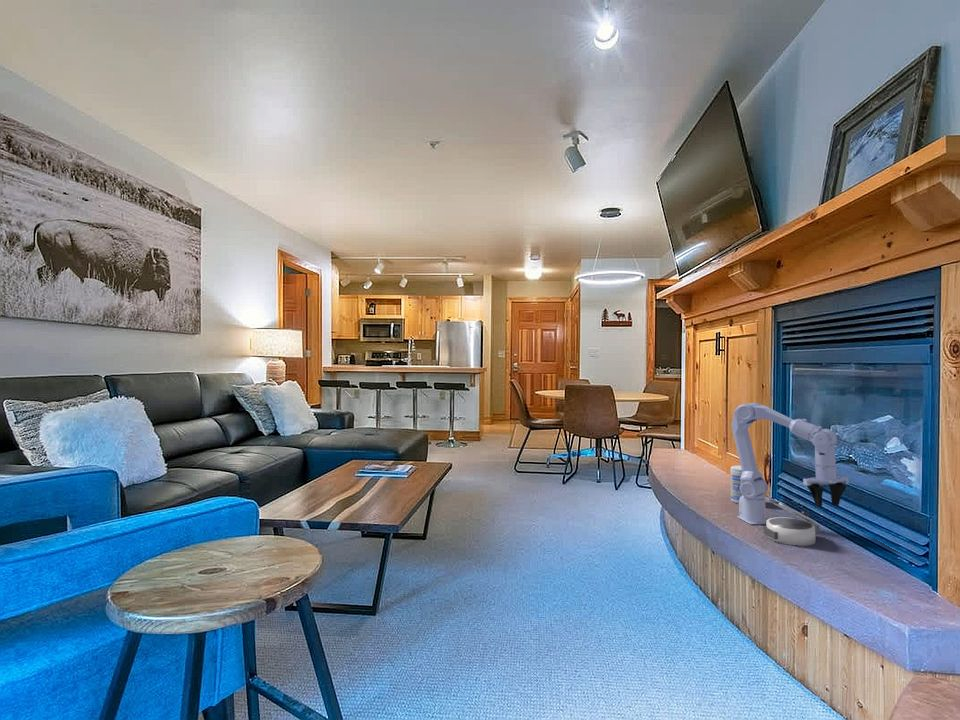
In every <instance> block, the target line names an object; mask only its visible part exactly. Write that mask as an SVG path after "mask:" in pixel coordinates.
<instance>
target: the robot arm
mask: <svg viewBox="0 0 960 720" xmlns="http://www.w3.org/2000/svg"><path fill="white" fill-rule="evenodd" d="M757 420H768V421H771V422H773V423H776V424H778V425H781V426H783V427H786V428H787V429H789V431H790V433H791V434H793V435H795V436H798V437H800V438H802V439H804V440H806V441H808V442H811V443H812V445H813V446H814V469H815V471H814V472H815V477H813V476H812V477H808V478H803V479H802V483H803V485H804V486H806V487H807V489H808V490H809V492H810V494H811V496H812V498H813V501H814V504H815V506H816V507H819V508H822V507H823V494H824V493H823V492H824V490H825V488H824V487H822V485H828V486H829V490H830V498H831V499H830V501H831V505H833V506H834V507H839V505H840V502H841V498H842V496H843V493H844V492H845V490H846V489H847V486H846V485H849V484H850V479H849V477H846V476H837V470H836V469H837V468H836V464H837V463H836V450H835V447H836V446H835V444H836V442H837V440H838V436H837V434H836V432H835V431H833V430H831V429H830V428H823V426H821V425H815V424H814V423H811V422H809V421H808V419H806V418H797V419H792V418H791V417H789V416H787V415H785V414H782V413H781V412H778V411H776V410H775V409H773V408H770V407H768V406H767V405H764V404H760V403H759V402H750V403H744V404H739V405H738V406H737V407H736V408H735V410H733V419H732V422H731V431H732V435H733V439H734V442H735V447H736V450H737V456H738V460H739V464H740V465H739V466H741V469H742V475H741V478H740V481H741V485H740V491H741V493H742V496H741V497H740V499H739V504H738V514H739V515H737V516H736V517H737V518H738V519H740V520H742V521H743V522H745V523H747V524H748V525H767V524H766V520H767V513H766V511H767V510H766V509H767V508H766V493H767V492H768V489H769V488H768V483H767V482H766V480H765V479H764V477H763V474H762V472H760V471H759V468H758V465H757V461H756V457H755V453H754V449H753V444H752V439H751V436H750V433H749V428H750V427H751V426H752V425H753V424H754V423H755V422H756V421H757Z"/></svg>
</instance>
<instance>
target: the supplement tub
mask: <svg viewBox="0 0 960 720" xmlns="http://www.w3.org/2000/svg"><path fill="white" fill-rule="evenodd" d="M741 475H742V469H741V465H732V466H731V467H730V500H731V502H733V503H735V504H738V505H739V499H740V497H741V496H742V493H741V491H740V485H741V481H740V478H741Z"/></svg>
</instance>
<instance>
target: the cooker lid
mask: <svg viewBox="0 0 960 720" xmlns="http://www.w3.org/2000/svg"><path fill="white" fill-rule="evenodd" d="M769 502H770V503H771V504H773V505H775V506H777V507H779V508H780V509H783V510H784V511H786V512H787V513H790V514H792V515H794V516H796V517H798V518H799V519H801V520H804V521H809V522H811V523H813V524H817V521H816V520H814V518H813V519H812V518H811V517H809V515H810V513H808V512H807V511H805V510H802V511H801V512H799V511H797V510H796V509H793V508H791V507H789V506H787V505H785V504H783V503H780V502H779V501H777V500H774V499H773V498H770V499H769Z"/></svg>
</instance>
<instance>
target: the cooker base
mask: <svg viewBox="0 0 960 720" xmlns="http://www.w3.org/2000/svg"><path fill="white" fill-rule="evenodd" d="M765 525H766V526H763V534H764V535H766V537H767V538H768V539H769V538H770V539H769V540H771V539H772V540H771V541H773V540H774V541H773V542H775V541H776V542H775V543H778V542H779V543H778V544H783V545H787V544H789V545H788V546H795V545H798V546H799V547H806V546H812V545H815V544H816V541H817V539H816V535H820V533H821V532H820V531H821V530H820V525H819V524H818V523H816V524H813V523H811V522H809V521H806V520H804V519H801V518H793V517H784V516H783V517H782V516H781V517H780V516H778V517H770V518H766V524H765Z"/></svg>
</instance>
